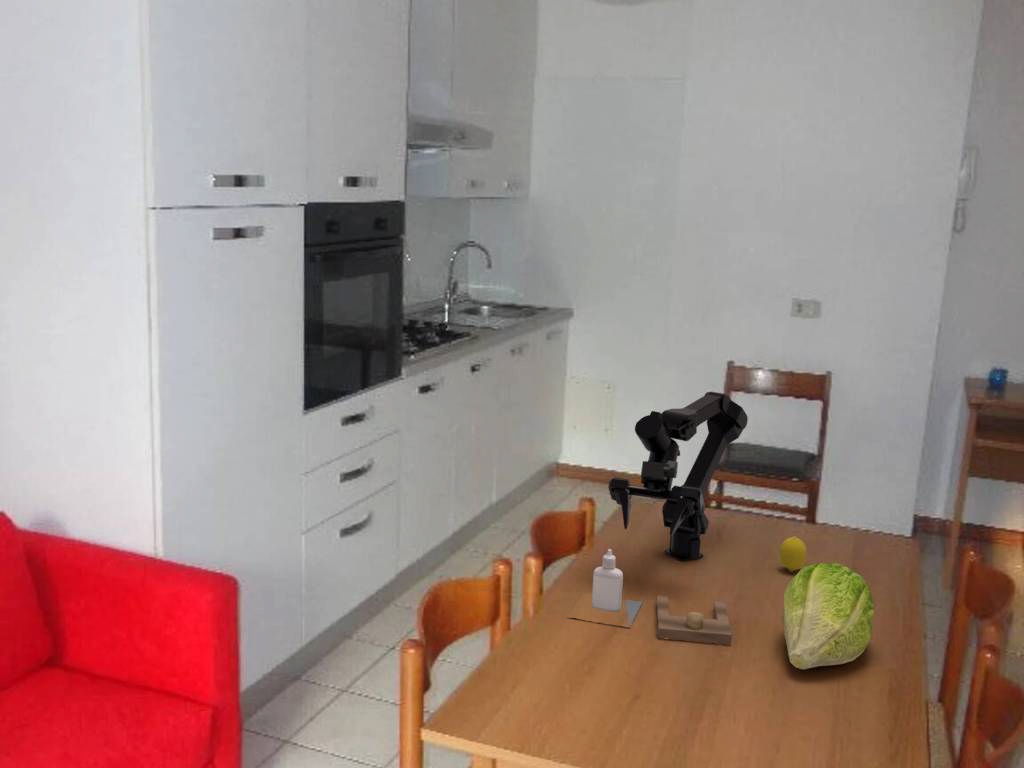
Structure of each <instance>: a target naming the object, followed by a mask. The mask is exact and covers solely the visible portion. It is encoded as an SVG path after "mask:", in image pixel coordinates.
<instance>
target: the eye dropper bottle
mask: <svg viewBox="0 0 1024 768" xmlns="http://www.w3.org/2000/svg"><path fill="white" fill-rule="evenodd" d="M606 552H607V553H606V554H604V555H603V556H602V565H601V566H598V567H596V568H595V569H594V571H593V575H592V588H591V589H592V592H591V594H592V607H593V608H595V609H598V610H604V611H609V612H619V611H620V609H621V602H622V599H623V583H624V574H623V571H622V570H621V569H619V568H617V567H616V561H617V559H616V556H615V555H613V551H612V549H611V548H608V549H607V551H606Z"/></svg>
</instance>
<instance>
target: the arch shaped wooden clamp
mask: <svg viewBox="0 0 1024 768" xmlns="http://www.w3.org/2000/svg"><path fill="white" fill-rule="evenodd" d="M656 597H657V599H656V614H657V615H656V619H657V620H658V623H657V638H669V639H676V640H675V641H679V640H685V641H684V642H690V641H693V642H692V643H701V642H704V643H705V644H712V643H715V644H716V645H723V644H725V645H727V646H731V645H732V644H731V643H732V636H733V635H732V630H731V626H730V621H729V616H728V610H727V606H726V601H724V600H716V599H715V600H714V601H713V609H712V610H713V616H714V618H713V619H711V618H704V615H703V614H702V613H700V612H696V611H690V612H688V613H686V616H677V615H670V611H669V610H670V609H669V598H668V597H669V596H667V595H666V596H665V595H657V596H656ZM704 643H703V644H704ZM715 644H714V645H715ZM725 645H724V646H725Z"/></svg>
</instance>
